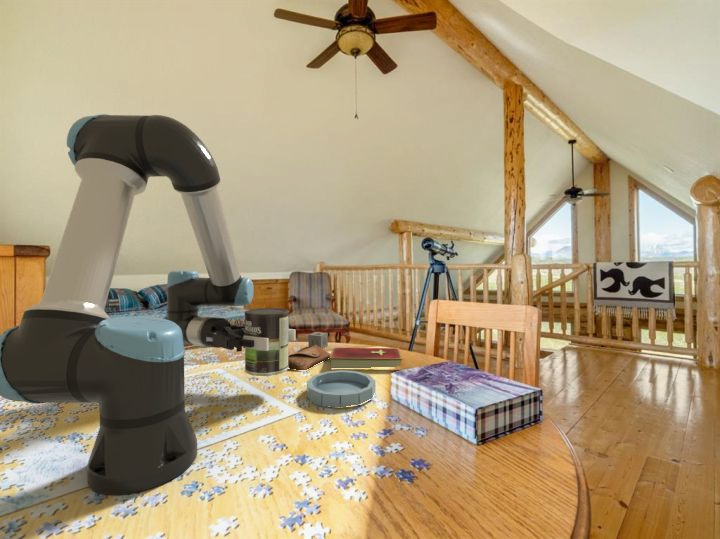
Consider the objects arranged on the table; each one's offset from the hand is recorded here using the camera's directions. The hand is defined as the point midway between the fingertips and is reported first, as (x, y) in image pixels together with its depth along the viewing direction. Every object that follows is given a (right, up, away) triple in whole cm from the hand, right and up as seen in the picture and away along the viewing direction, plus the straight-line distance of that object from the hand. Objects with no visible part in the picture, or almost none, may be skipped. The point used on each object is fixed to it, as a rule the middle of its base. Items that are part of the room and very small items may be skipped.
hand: (282, 339), depth 85 cm
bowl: (+14, -14, +2) cm, 19 cm away
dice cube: (+3, -12, +44) cm, 46 cm away
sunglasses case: (+3, -13, +27) cm, 30 cm away
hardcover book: (+20, -13, +25) cm, 35 cm away
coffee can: (-4, -8, +2) cm, 9 cm away
